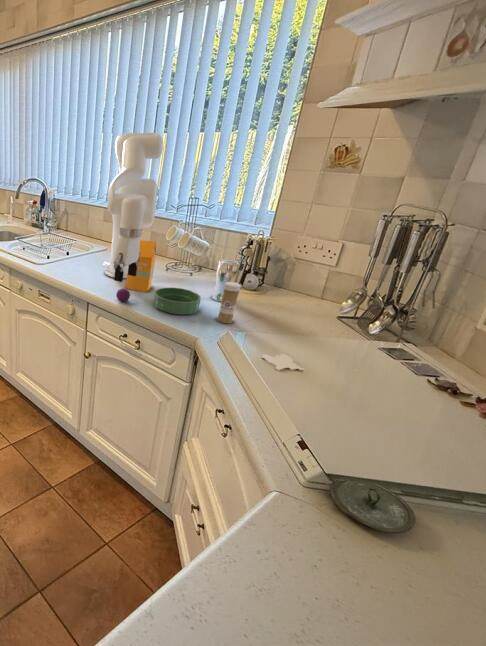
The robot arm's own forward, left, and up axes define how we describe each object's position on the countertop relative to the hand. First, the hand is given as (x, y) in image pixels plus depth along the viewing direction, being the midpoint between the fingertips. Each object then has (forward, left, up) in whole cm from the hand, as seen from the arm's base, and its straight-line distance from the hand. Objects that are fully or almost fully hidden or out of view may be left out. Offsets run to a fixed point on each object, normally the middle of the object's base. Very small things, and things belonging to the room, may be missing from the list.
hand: (125, 278), depth 147 cm
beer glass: (+26, +28, -10) cm, 40 cm away
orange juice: (-3, +18, -10) cm, 21 cm away
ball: (0, 0, -10) cm, 10 cm away
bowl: (+17, +8, -10) cm, 21 cm away
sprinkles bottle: (+34, +8, -10) cm, 36 cm away
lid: (+77, -54, -10) cm, 94 cm away
